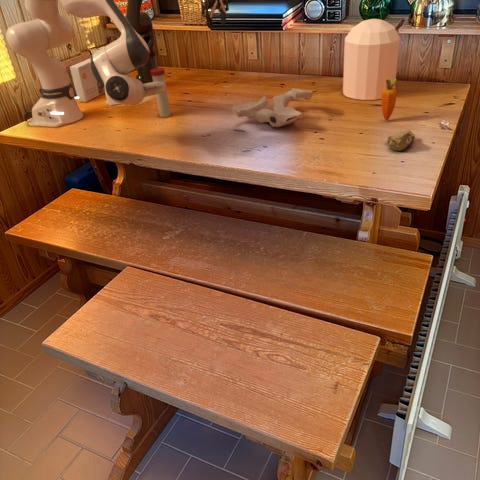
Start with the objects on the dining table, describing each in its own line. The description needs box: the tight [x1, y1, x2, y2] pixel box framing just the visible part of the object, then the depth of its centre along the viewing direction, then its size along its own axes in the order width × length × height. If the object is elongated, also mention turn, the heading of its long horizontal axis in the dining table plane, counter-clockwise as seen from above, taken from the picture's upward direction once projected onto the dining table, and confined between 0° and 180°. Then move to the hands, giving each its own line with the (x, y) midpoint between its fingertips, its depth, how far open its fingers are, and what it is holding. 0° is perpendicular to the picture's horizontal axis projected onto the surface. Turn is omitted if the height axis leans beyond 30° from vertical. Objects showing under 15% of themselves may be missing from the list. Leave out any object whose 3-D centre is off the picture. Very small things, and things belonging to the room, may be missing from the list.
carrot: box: [380, 78, 398, 122], centre depth 161 cm, size 5×5×15 cm
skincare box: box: [69, 57, 105, 103], centre depth 218 cm, size 21×6×16 cm, turn 158°
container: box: [342, 18, 401, 101], centre depth 185 cm, size 21×21×28 cm
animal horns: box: [231, 88, 314, 128], centre depth 171 cm, size 28×26×12 cm
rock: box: [387, 129, 416, 152], centre depth 146 cm, size 11×6×10 cm
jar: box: [152, 73, 172, 119], centre depth 185 cm, size 5×5×18 cm
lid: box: [150, 67, 166, 76], centre depth 180 cm, size 6×6×2 cm
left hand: (141, 93), depth 166 cm, fingers open, 8 cm apart
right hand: (217, 25), depth 186 cm, fingers open, 8 cm apart
